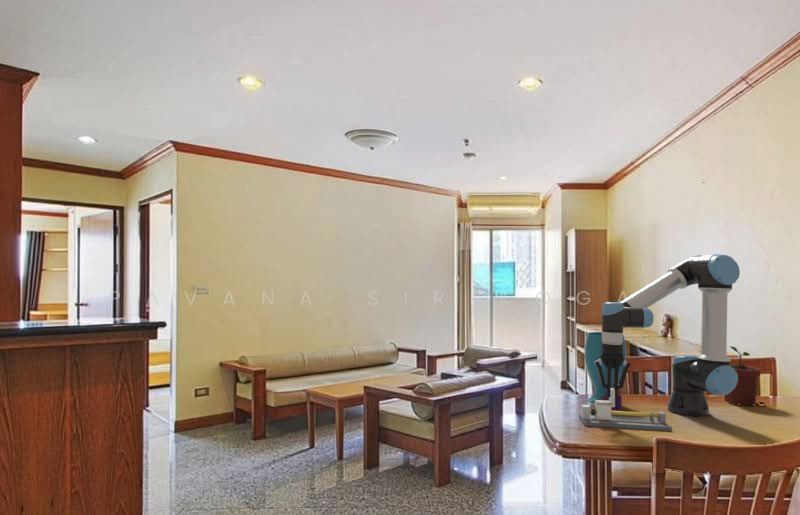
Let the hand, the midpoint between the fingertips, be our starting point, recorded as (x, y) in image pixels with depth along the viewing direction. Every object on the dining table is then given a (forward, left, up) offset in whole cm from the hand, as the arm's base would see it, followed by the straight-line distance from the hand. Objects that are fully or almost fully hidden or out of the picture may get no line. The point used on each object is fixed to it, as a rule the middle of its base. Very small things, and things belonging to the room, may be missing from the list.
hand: (611, 406), depth 204 cm
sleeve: (+3, 0, -5) cm, 6 cm away
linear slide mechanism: (-4, 0, -6) cm, 8 cm away
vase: (-5, -37, -7) cm, 38 cm away
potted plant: (-68, -53, -7) cm, 86 cm away
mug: (-3, -19, -7) cm, 20 cm away
